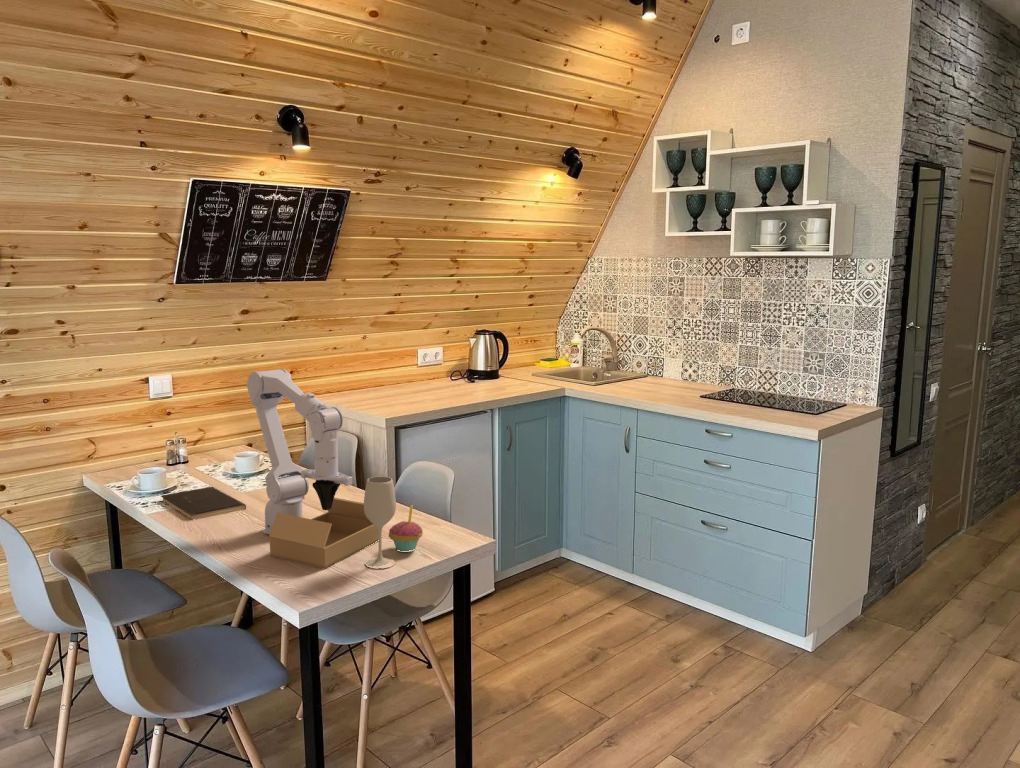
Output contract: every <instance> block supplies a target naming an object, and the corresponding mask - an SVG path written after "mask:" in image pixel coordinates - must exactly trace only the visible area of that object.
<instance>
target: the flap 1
mask: <svg viewBox="0 0 1020 768" xmlns="http://www.w3.org/2000/svg"><path fill="white" fill-rule="evenodd" d="M312 519H313V518H311V519H310V518H307V517H303V516H302V517H297V516H292V515H287V514H282V513H278V512H277V515H276V518H275V521H274V523H273V526H272V529H271V532H270V535H269V534H268V535H269V536H268V537H269V538H270V537H274V538H278V539H283V540H287V541H292V542H296V543H301V544H305V545H310V546H314V547H319V548H323V549H324V548H325V545H326V541H327V538H328V535H329V532H330V529H331V526H332V524H331V523H326V522H321V521H317V520H312Z"/></svg>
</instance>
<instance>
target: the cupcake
mask: <svg viewBox="0 0 1020 768" xmlns="http://www.w3.org/2000/svg"><path fill="white" fill-rule="evenodd" d="M410 504H411V505H410V506H409V513H408V521H404V520H403V521H400V522H397V523H395V524H394V525H392V526H391V527H390V528H389V532H388V538H389V539H390V540H392V541H393V543H394V546H395V549H397V550H400V551H409V550H413V549H415V550H416V548H417V544H418V542H419V540H420V539H421V538H422V537H423V532H424V531H423V528H422V527H421V525H420V524H418V523H416V522H414V521H412V516H413V515H412V514H413V507H414V506H413V503H410ZM397 550H396V551H397Z"/></svg>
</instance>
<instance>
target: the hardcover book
mask: <svg viewBox="0 0 1020 768" xmlns="http://www.w3.org/2000/svg"><path fill="white" fill-rule="evenodd" d="M160 497H161V498H162V501H163V502H164V503H165V502H166V503H165V504H167V505H168V504H169V505H168V506H170V507H171V506H172V507H171V508H173V507H174V508H175V509H174V508H173V509H174V510H176V511H177V510H178V512H179V511H180V512H181V514H182V513H183V514H182V515H184V516H185V515H186V516H185V517H186V518H188V517H189V519H190V518H191V519H195V520H198V518H200V519H203V518H208V517H214V516H218V515H223V514H224V515H225V514H228V513H233V512H238V511H243V510H247V504H246V503H244V502H242V501H240V500H238V499H236V498H234V497H232V496H231V495H229V494H227V493H225V492H223V491H222V490H219V489H217V488H216V487H213V486H209V487H203V488H197V489H196V488H195V489H192V490H191V489H190V490H183V491H180V492H174V493H167V494H163V495H161V496H160ZM180 512H179V513H180ZM191 519H190V520H191Z"/></svg>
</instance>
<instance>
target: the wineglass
mask: <svg viewBox="0 0 1020 768" xmlns="http://www.w3.org/2000/svg"><path fill="white" fill-rule="evenodd" d="M363 503H364V513H365V515H366V517H367V518H368V519H369V521H370V522H372V523H373V524H374V525H375V526H377V528H378V532H379V541H378V555H377V557H373V558H374V559H372V558H370V559H371V560H369V559H368V561H367V560H366V561H367V562H366V561H365V562H366V564H367V565H368V566H372V567H373V566H377V567H378V566H382V565H386V564H388V563H389V562H390V561H389V560H388V559H386V558H387V557H385V558H383V557H384V556H383V554H382V551H383V550H382V546H383V545H382V542H383V541H382V538H383V537H382V531H383V528H384V527H385V525H387V524H388V523H389V522H390V521H391V520H392V519H393V518H394V516H395V514H396V509H397V508H396V507H397V500H396V492H395V485H394V481H393V478H391V477H390V476H381V475H380V476H379V475H378V476H372V477H369V478H367V480H366V484H365V490H364V498H363Z"/></svg>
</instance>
